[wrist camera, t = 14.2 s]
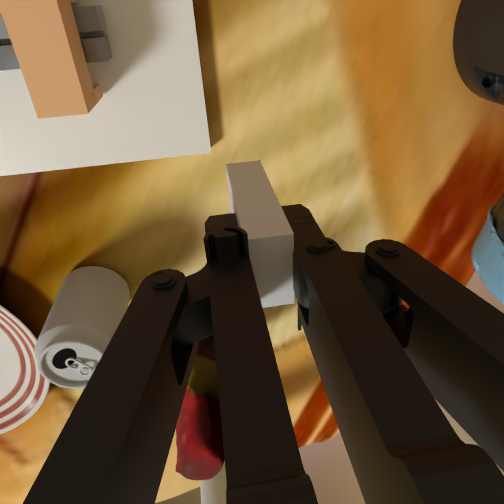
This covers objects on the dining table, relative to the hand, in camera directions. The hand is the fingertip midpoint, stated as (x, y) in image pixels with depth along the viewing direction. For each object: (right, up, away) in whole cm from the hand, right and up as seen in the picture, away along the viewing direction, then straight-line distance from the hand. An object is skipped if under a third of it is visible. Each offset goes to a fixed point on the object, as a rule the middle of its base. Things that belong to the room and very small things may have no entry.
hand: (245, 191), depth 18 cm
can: (-18, -7, +28) cm, 34 cm away
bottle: (-6, -11, +33) cm, 36 cm away
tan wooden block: (-14, +13, +14) cm, 24 cm away
